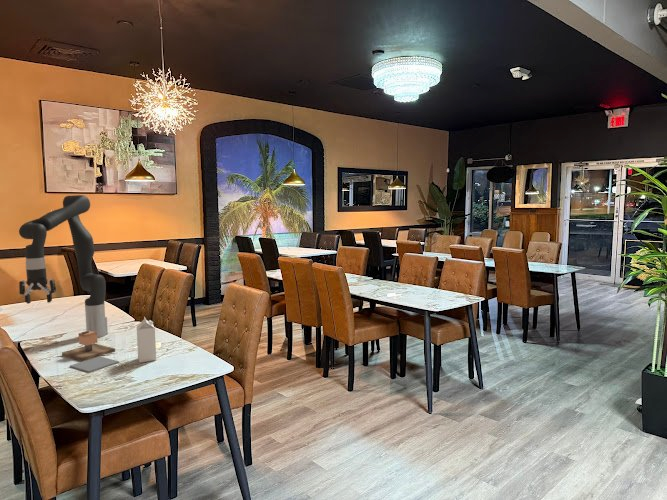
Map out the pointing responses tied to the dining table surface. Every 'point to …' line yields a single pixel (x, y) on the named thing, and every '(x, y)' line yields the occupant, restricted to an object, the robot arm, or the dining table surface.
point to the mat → (94, 364)
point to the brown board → (88, 352)
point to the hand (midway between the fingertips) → (38, 302)
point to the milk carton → (146, 341)
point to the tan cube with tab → (87, 337)
